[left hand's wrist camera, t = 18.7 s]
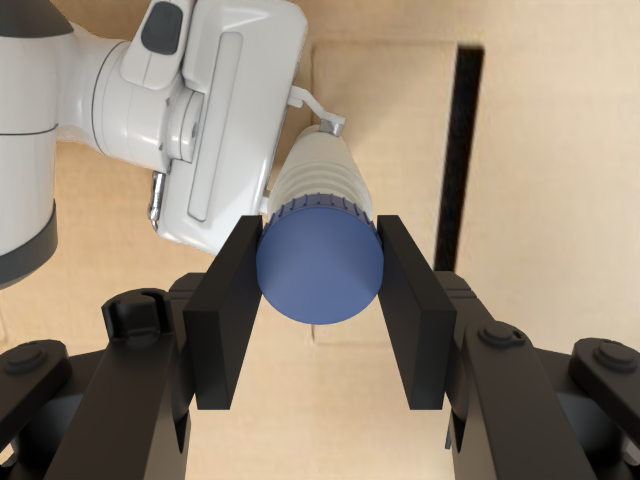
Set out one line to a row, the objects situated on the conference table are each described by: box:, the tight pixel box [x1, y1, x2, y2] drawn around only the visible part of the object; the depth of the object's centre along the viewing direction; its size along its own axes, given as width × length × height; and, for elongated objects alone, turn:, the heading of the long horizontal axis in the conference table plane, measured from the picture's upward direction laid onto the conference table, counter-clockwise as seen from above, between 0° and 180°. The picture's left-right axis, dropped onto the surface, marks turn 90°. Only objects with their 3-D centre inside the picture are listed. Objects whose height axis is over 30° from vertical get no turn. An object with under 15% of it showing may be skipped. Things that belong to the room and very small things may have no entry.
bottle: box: [267, 124, 372, 222], centre depth 25 cm, size 5×5×25 cm
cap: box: [256, 192, 384, 325], centre depth 14 cm, size 4×4×2 cm
